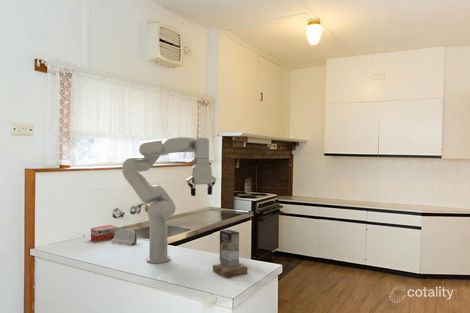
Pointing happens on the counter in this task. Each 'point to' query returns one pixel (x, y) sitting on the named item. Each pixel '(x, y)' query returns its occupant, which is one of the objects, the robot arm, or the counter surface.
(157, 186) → the robot arm
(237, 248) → the coffee box
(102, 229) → the medicine box
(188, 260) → the counter surface
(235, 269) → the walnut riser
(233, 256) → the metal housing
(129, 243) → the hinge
